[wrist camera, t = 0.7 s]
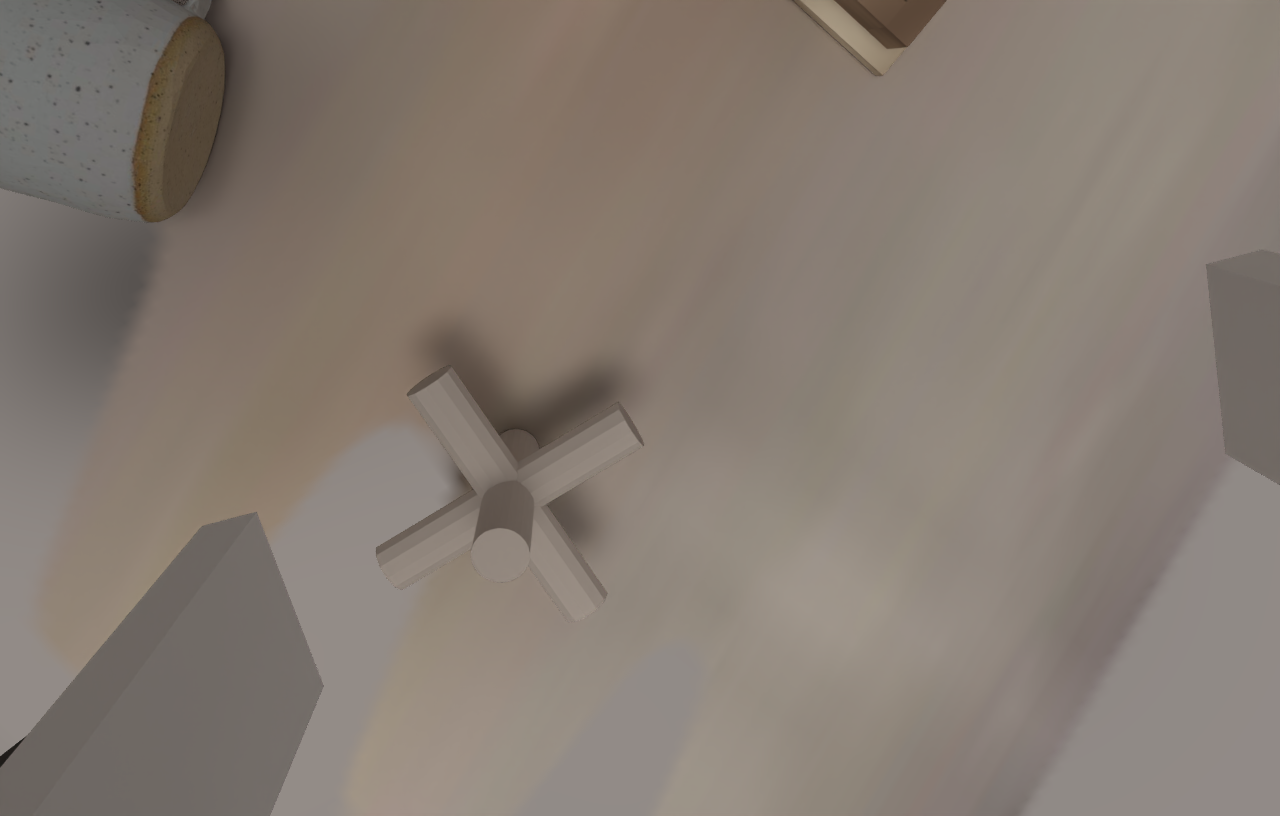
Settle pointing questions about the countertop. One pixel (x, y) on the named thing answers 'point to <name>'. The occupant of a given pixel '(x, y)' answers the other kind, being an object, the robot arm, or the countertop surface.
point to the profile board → (873, 26)
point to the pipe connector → (508, 497)
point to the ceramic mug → (108, 103)
